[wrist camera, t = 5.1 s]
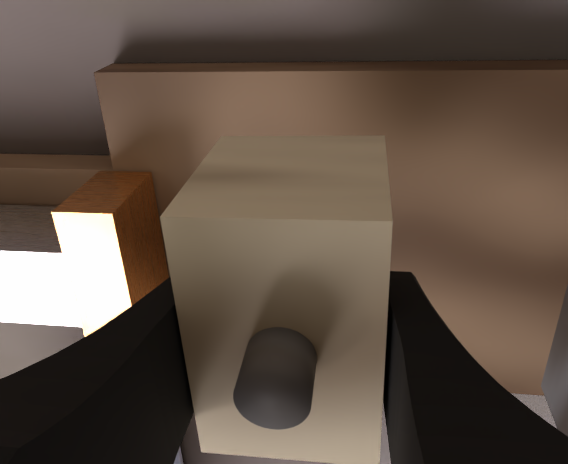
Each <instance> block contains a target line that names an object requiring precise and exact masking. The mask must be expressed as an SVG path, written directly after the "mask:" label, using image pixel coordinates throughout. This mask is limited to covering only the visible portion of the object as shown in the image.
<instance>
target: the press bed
mask: <svg viewBox="0 0 568 464" xmlns="http://www.w3.org/2000/svg"><path fill="white" fill-rule="evenodd" d="M94 76H95V81H96V86H97V91H98V96H99V101H100V106H101V111H102V116H103V121H104V126H105V131H106V136H107V141H108V146H109V151H110V155H51V154H0V205H33V206H59V205H60V204H61V203H62V202H64V201H65V200H66V199H67V198H68V197H69V196H71V195H72V194H73V193H74V192H75V191H76V190H78V189H79V188H80V187H81V186H82V185H83V184H85V183H86V182H87V181H88V180H89V179H90V178H92V177H93V176H94V175H95V174H96V173H97V172H99V171H128V172H152V178H153V184H154V190H155V196H156V202H157V208H158V215H159V221H160V227H161V233H162V239H163V245H164V251H165V257H166V263H167V269H168V276H169V277H170V271H169V266H168V260H167V254H166V249H165V243H164V237H163V232H162V226H161V220H160V216H161V215H162V213H163V212H164V211H165V209H166V208H167V207H168V206H169V204H170V203H171V202H172V200H173V199H174V198H175V196H176V195H177V194H178V192H179V191H180V190H181V188H182V187H183V186H184V185H185V183H186V182H187V181H188V179H189V178H190V177H191V175H192V174H193V173H194V171H195V170H196V169H197V167H198V166H199V165H200V163H201V162H202V161H203V160H204V158H205V157H206V156H207V154H208V153H209V152H210V150H211V149H212V148H213V146H214V145H215V144H216V142H217V141H218V140H219V139H220V137H221V136H385V143H386V154H387V165H388V176H389V187H390V197H391V208H392V219H393V225H392V244H391V262H390V271H404V272H412V274H413V275H414V276H415V277H416V279H417V281H418V283H419V285H420V286H421V288H422V290H423V291H424V293H425V295H426V296H427V298H428V299H429V301H430V303H431V304H432V306H433V307H434V309H435V310H436V311H437V313H438V314H439V316H440V317H441V318H442V320H443V321H444V322H445V324H446V325H447V326H448V328H449V329H450V330H451V332H452V333H453V334H454V335H455V337H456V338H457V339H458V340H459V342H460V343H461V344H462V345H463V346H464V347H465V349H466V350H467V351H468V352H469V353H470V354H471V355H472V357H473V358H474V359H475V360H476V361H477V362H478V363H479V364H480V365H481V366H482V367H483V368H484V369H485V370H486V371H487V372H488V373H489V374H490V375H491V376H492V377H493V378H494V379H495V380H496V381H497V382H498V383H499V384H500V385H501V386H503V387H504V388H505V389H506V390H507V391H508V392H510V393H517V394H531V395H544V396H545V398H546V401H547V403H548V406H549V408H550V411H551V413H552V416H553V419H554V421H555V424H556V426H557V429H558V430H559V431H561V432H562V433H564V434H565V435H567V436H568V60H485V61H366V62H247V63H127V64H111V65H109V66H107V67H104V68H102V69H100V70H98V71H96V72H94Z"/></svg>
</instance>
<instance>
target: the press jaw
mask: <svg viewBox="0 0 568 464" xmlns="http://www.w3.org/2000/svg"><path fill="white" fill-rule="evenodd" d="M168 278H169V276H168V269H167V263H166V257H165V251H164V245H163V239H162V233H161V227H160V221H159V215H158V208H157V202H156V196H155V190H154V184H153V178H152V172H128V171H99V172H97V173H96V174H95V175H94V176H93V177H92V178H90V179H89V180H88V181H87V182H86V183H85V184H83V185H82V186H81V187H80V188H79V189H78V190H76V191H75V192H74V193H73V194H72V195H71V196H69V197H68V198H67V199H66V200H65V201H64V202H62V203H61V204H60V205H59V206H33V205H0V322H11V323H26V324H42V325H58V326H73V327H82V328H83V331H84V335H85V337H86V336H87V335H89V334H91V333H92V332H94V331H96V330H97V329H99V328H100V327H102V326H103V325H105V324H106V323H107V322H109V321H110V320H112V319H113V318H115V317H116V316H118V315H119V314H121V313H122V312H124V311H125V310H126V309H128V308H129V307H131V306H132V305H134V304H135V303H136V302H137V301H139V300H140V299H141V298H143V297H144V296H145V295H147V294H148V293H149V292H151V291H152V290H153V289H155V288H156V287H157V286H159V285H160V284H161V283H162V282H164V281H165V280H166V279H168Z"/></svg>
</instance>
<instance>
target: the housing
mask: <svg viewBox="0 0 568 464" xmlns="http://www.w3.org/2000/svg"><path fill="white" fill-rule="evenodd" d="M160 220H161V226H162V232H163V237H164V243H165V249H166V254H167V260H168V266H169V271H170V277H171V283H172V289H173V294H174V300H175V306H176V311H177V317H178V323H179V328H180V334H181V340H182V345H183V351H184V357H185V363H186V368H187V374H188V380H189V385H190V391H191V397H192V402H193V408H194V414H195V420H196V425H197V431H198V437H199V442H200V448H201V452H204V453H216V454H227V455H239V456H251V457H263V458H275V459H287V460H298V461H310V462H322V463H334V464H379V463H380V445H381V427H382V409H383V390H384V372H385V354H386V335H387V317H388V299H389V280H390V262H391V244H392V225H393V219H392V208H391V197H390V187H389V176H388V165H387V154H386V143H385V136H221V137H220V139H219V140H218V141H217V142H216V144H215V145H214V146H213V148H212V149H211V150H210V152H209V153H208V154H207V156H206V157H205V158H204V160H203V161H202V162H201V163H200V165H199V166H198V167H197V169H196V170H195V171H194V173H193V174H192V175H191V177H190V178H189V179H188V181H187V182H186V183H185V185H184V186H183V187H182V188H181V190H180V191H179V192H178V194H177V195H176V196H175V198H174V199H173V200H172V202H171V203H170V204H169V206H168V207H167V208H166V209H165V211H164V212H163V213H162V215H161V216H160Z"/></svg>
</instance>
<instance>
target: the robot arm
mask: <svg viewBox="0 0 568 464" xmlns="http://www.w3.org/2000/svg"><path fill="white" fill-rule="evenodd" d="M383 403H384V411H385V418H386V426H387V434H388V442H389V450H390V458H391V464H568V436H567V435H565V434H564V433H562V432H561V431H559V430H558V429H556V428H555V427H553V426H552V425H550V424H549V423H548V422H546V421H545V420H544V419H542V418H541V417H540V416H538V415H537V414H536V413H534V412H533V411H532V410H530V409H529V408H528V407H527V406H526V405H524V404H523V403H522V402H521V401H519V400H518V399H517V398H516V397H514V396H513V395H512V394H511V393H510V392H508V391H507V390H506V389H505V388H504V387H503V386H501V385H500V384H499V383H498V382H497V381H496V380H495V379H494V378H493V377H492V376H491V375H490V374H489V373H488V372H487V371H486V370H485V369H484V368H483V367H482V366H481V365H480V364H479V363H478V362H477V361H476V360H475V359H474V358H473V357H472V355H471V354H470V353H469V352H468V351H467V350H466V349H465V347H464V346H463V345H462V344H461V343H460V342H459V340H458V339H457V338H456V337H455V335H454V334H453V333H452V332H451V330H450V329H449V328H448V326H447V325H446V324H445V322H444V321H443V320H442V318H441V317H440V316H439V314H438V313H437V311H436V310H435V309H434V307H433V306H432V304H431V303H430V301H429V299H428V298H427V296H426V295H425V293H424V291H423V290H422V288H421V286H420V285H419V283H418V281H417V279H416V277H415V276H414V275H413V274H412V272H404V271H390V280H389V299H388V317H387V335H386V354H385V372H384V390H383ZM193 413H194V408H193V402H192V397H191V391H190V385H189V380H188V374H187V368H186V363H185V357H184V351H183V345H182V340H181V334H180V328H179V323H178V317H177V311H176V306H175V300H174V294H173V289H172V283H171V277H169V278H168V279H166V280H165V281H164V282H162V283H161V284H160V285H159V286H157V287H156V288H155V289H153V290H152V291H151V292H149V293H148V294H147V295H145V296H144V297H143V298H141V299H140V300H139V301H137V302H136V303H135V304H134V305H132V306H131V307H129V308H128V309H126V310H125V311H124V312H122V313H121V314H119V315H118V316H116V317H115V318H113V319H112V320H110V321H109V322H107V323H106V324H105V325H103V326H102V327H100V328H99V329H97V330H96V331H94V332H92V333H91V334H89V335H87V336H86V337H84V338H82V339H81V340H79V341H77V342H75V343H74V344H72V345H70V346H68V347H67V348H65V349H63V350H61V351H59V352H57V353H55V354H54V355H52V356H50V357H47V358H45V359H43V360H41V361H39V362H37V363H35V364H33V365H31V366H29V367H26V368H24V369H22V370H20V371H18V372H16V373H14V374H11V375H9V376H7V377H4V378H2V379H0V464H183V459H182V454H181V448H180V445H181V442H182V440H183V437H184V435H185V432H186V430H187V427H188V425H189V423H190V420H191V418H192V415H193Z"/></svg>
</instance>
